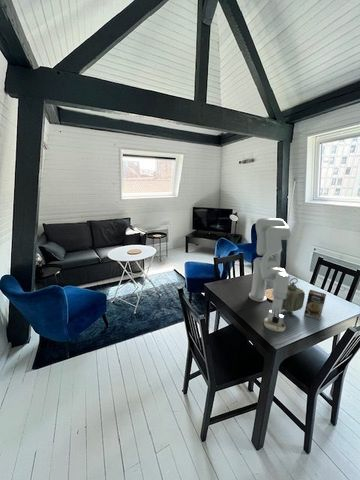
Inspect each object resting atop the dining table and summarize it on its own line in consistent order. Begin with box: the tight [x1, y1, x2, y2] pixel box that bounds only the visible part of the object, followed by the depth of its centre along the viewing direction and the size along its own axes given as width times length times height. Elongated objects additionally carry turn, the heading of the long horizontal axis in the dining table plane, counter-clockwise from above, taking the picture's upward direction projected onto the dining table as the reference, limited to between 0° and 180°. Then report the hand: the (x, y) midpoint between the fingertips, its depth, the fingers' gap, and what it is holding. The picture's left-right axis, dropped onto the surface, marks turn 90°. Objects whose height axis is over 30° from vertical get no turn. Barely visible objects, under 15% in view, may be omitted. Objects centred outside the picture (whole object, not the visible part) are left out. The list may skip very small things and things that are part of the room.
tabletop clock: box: [282, 277, 306, 316], centre depth 134 cm, size 14×9×25 cm, turn 113°
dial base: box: [263, 316, 287, 333], centre depth 125 cm, size 12×12×2 cm
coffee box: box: [303, 289, 327, 321], centre depth 133 cm, size 9×6×16 cm
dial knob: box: [267, 309, 285, 327], centre depth 123 cm, size 10×2×6 cm, turn 45°
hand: (275, 320), depth 124 cm, fingers closed on dial knob, 3 cm apart
